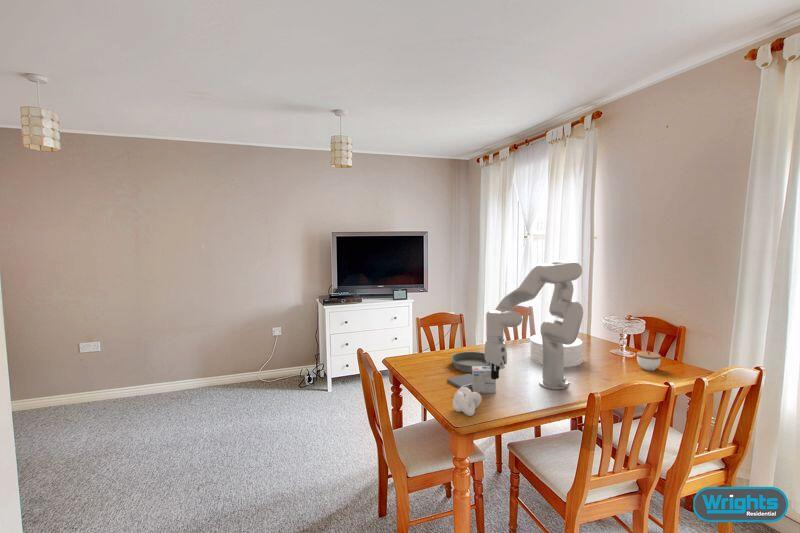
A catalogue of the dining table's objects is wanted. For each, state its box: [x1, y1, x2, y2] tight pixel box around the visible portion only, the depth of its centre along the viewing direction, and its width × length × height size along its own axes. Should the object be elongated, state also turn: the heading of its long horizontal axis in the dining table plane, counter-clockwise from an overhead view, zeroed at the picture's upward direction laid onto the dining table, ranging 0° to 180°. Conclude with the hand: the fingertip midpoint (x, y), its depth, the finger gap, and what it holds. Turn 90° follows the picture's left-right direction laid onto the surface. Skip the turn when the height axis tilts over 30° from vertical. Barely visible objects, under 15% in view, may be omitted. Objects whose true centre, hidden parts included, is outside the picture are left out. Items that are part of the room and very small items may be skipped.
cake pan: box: [450, 351, 489, 373], centre depth 212 cm, size 25×25×4 cm
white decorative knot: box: [452, 387, 482, 417], centre depth 157 cm, size 11×12×9 cm
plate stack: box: [529, 333, 583, 368], centre depth 220 cm, size 28×28×12 cm
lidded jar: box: [636, 350, 662, 371], centre depth 201 cm, size 11×11×9 cm
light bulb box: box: [471, 366, 497, 394], centre depth 178 cm, size 11×7×11 cm, turn 84°
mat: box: [446, 373, 472, 389], centre depth 188 cm, size 12×14×1 cm
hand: (495, 378), depth 171 cm, fingers closed
